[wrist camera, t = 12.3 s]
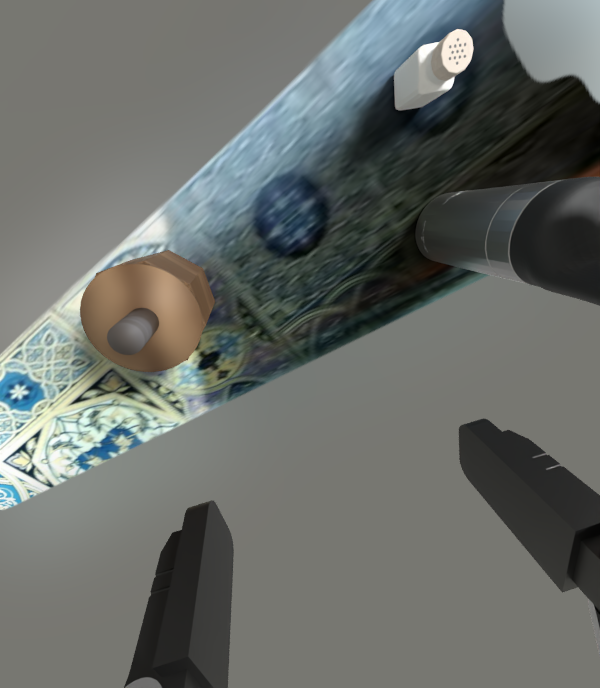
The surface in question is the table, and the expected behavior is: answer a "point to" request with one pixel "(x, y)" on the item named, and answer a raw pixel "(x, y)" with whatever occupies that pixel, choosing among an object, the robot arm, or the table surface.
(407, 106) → the pepper shaker
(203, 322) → the tan jar with knob
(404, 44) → the table surface
